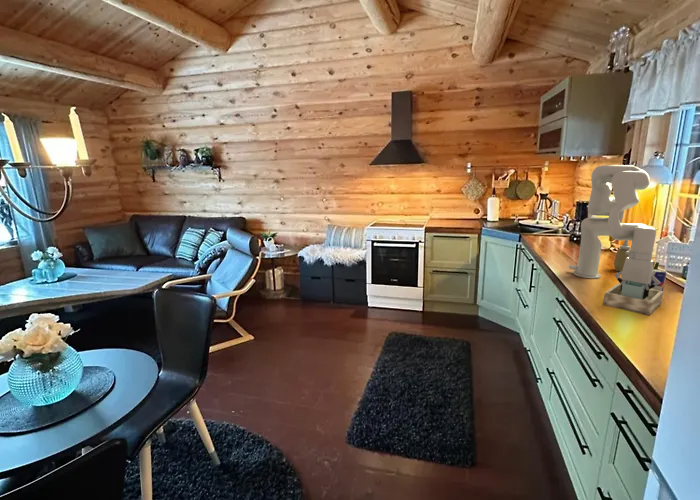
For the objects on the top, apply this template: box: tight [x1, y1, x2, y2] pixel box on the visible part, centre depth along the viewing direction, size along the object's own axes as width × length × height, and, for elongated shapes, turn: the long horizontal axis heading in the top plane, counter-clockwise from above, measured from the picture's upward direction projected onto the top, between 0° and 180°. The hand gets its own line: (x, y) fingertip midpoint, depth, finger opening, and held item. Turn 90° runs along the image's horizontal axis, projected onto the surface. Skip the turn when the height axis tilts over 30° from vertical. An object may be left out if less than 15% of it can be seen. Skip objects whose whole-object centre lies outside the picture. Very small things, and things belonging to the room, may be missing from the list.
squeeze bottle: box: [613, 240, 631, 272], centre depth 213 cm, size 8×8×18 cm
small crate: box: [621, 281, 645, 300], centre depth 164 cm, size 7×10×6 cm
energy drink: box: [649, 268, 667, 292], centre depth 174 cm, size 5×5×12 cm
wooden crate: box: [602, 282, 664, 317], centre depth 165 cm, size 16×20×6 cm
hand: (633, 295), depth 165 cm, fingers closed on small crate, 7 cm apart
